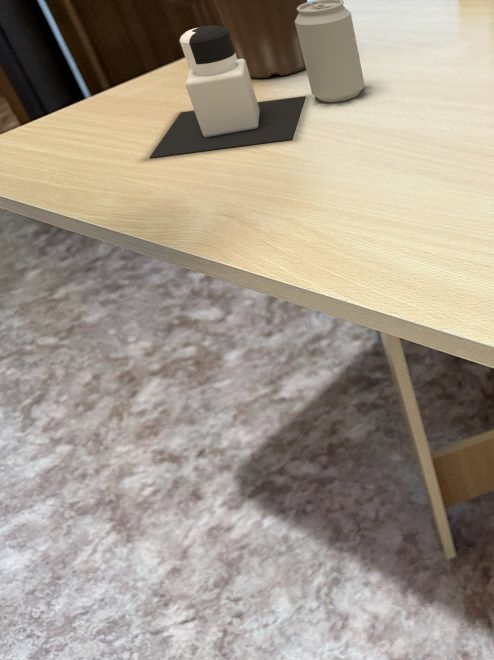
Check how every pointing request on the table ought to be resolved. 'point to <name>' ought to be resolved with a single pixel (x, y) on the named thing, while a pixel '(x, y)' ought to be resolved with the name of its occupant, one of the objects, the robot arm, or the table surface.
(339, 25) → the can
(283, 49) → the plant pot
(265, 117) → the mat
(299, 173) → the table surface
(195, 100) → the medicine bottle
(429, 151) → the table surface
